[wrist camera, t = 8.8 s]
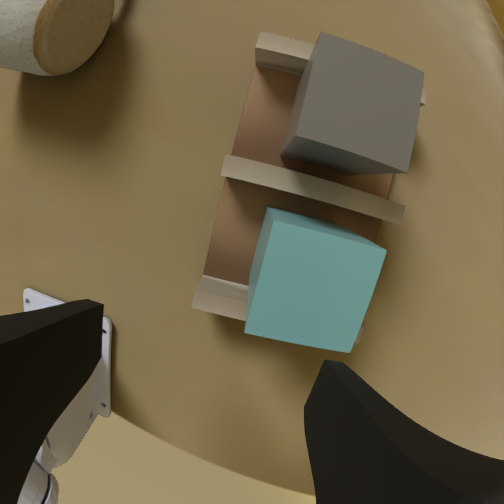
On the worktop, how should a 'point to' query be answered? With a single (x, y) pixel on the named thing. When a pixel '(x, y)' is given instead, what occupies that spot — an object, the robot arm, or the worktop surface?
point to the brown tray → (279, 182)
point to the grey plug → (354, 110)
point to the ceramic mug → (51, 34)
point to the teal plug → (310, 281)
